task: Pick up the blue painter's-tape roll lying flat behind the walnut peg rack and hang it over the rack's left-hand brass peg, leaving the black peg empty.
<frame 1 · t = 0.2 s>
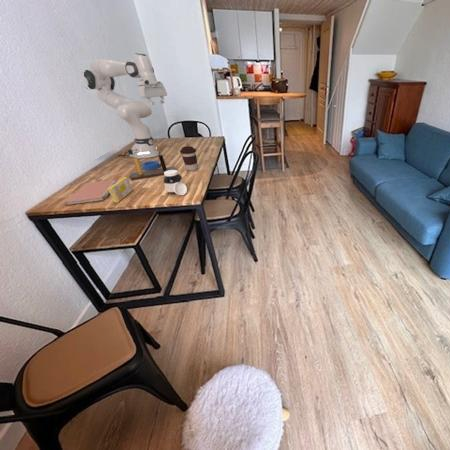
hand: (157, 104, 176), 39 cm above the table, tool pointing down, fingers open, 8 cm apart
coffee cup: (192, 169, 173), on the table
peg rack: (154, 174, 165), on the table
notebook: (95, 192, 140), on the table
candy box: (124, 196, 135), on the table
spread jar: (178, 192, 139), on the table
tape roll: (151, 167, 176), on the table
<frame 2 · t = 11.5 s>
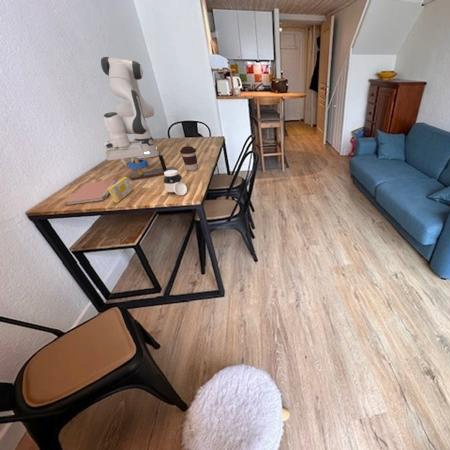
hand: (129, 165, 155), 8 cm above the table, tool pointing down, fingers closed on tape roll
tape roll: (138, 166, 158), point 6 cm above the table, touching gripper
everything else where it was.
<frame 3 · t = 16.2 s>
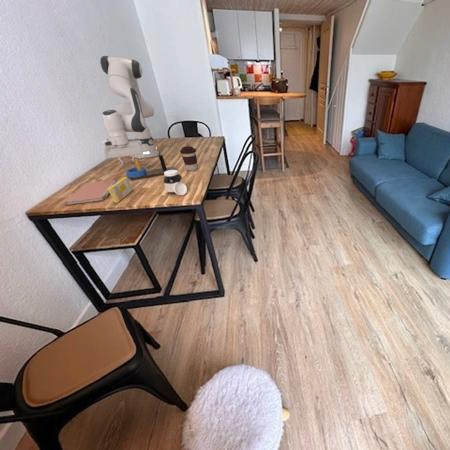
hand: (128, 163, 155), 9 cm above the table, tool pointing down, fingers open, 4 cm apart
tape roll: (137, 174, 160), point 1 cm above the table, touching peg rack
everything else where it was.
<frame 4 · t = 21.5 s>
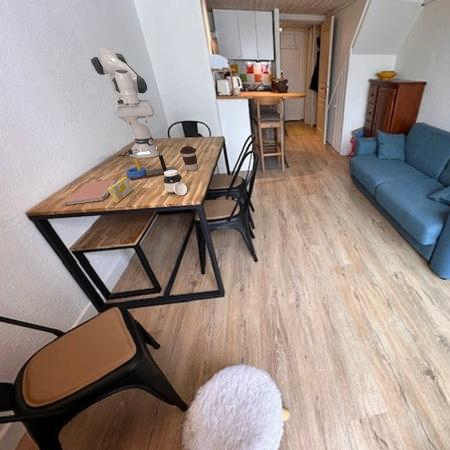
hand: (138, 123, 163), 29 cm above the table, tool pointing down, fingers open, 8 cm apart
nothing on the table moved.
at the end: tape roll 2.2 cm from the target spot on the peg rack, point 1.5 cm above the peg rack's base; tape roll tilted 0°; the gripper is holding nothing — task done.
